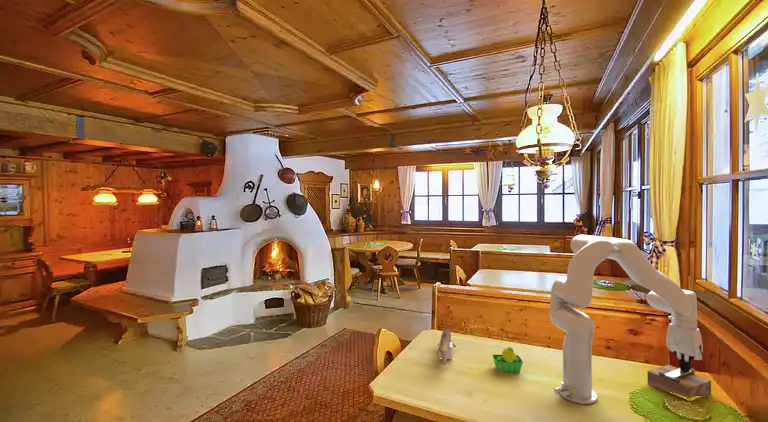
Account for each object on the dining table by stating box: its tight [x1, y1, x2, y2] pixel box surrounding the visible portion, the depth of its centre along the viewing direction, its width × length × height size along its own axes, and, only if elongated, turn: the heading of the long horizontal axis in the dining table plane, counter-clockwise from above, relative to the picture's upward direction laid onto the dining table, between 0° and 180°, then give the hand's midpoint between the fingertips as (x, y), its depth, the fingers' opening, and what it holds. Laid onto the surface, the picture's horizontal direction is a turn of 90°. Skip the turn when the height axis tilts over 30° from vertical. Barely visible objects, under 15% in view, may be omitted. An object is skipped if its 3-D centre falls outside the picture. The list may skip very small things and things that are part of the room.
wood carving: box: [437, 328, 457, 364], centre depth 166 cm, size 9×35×11 cm, turn 168°
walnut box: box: [647, 364, 712, 398], centre depth 135 cm, size 13×14×7 cm
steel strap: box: [664, 368, 691, 380], centre depth 135 cm, size 11×3×1 cm, turn 111°
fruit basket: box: [492, 346, 524, 374], centre depth 153 cm, size 11×9×11 cm
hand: (685, 370), depth 137 cm, fingers closed
